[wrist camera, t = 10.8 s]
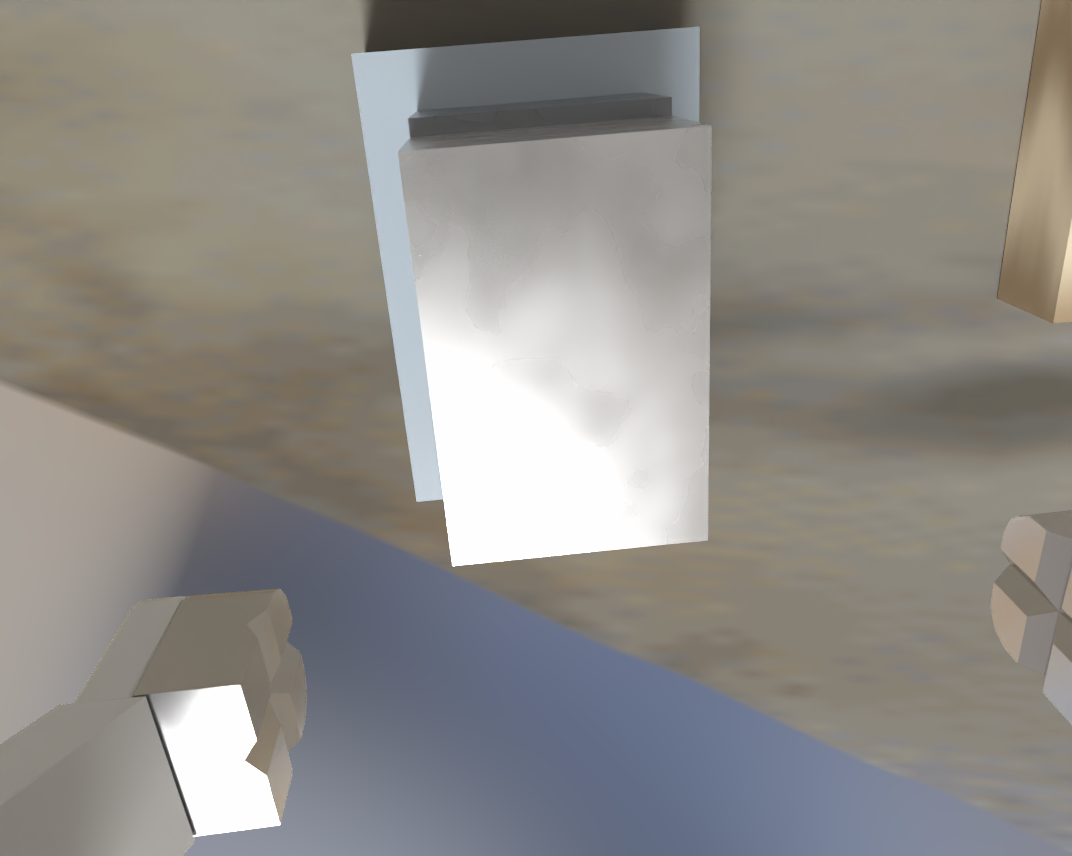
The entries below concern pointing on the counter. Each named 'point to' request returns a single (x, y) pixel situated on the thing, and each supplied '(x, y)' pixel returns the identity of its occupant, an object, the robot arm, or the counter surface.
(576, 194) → the block
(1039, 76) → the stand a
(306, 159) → the counter surface
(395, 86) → the stand
